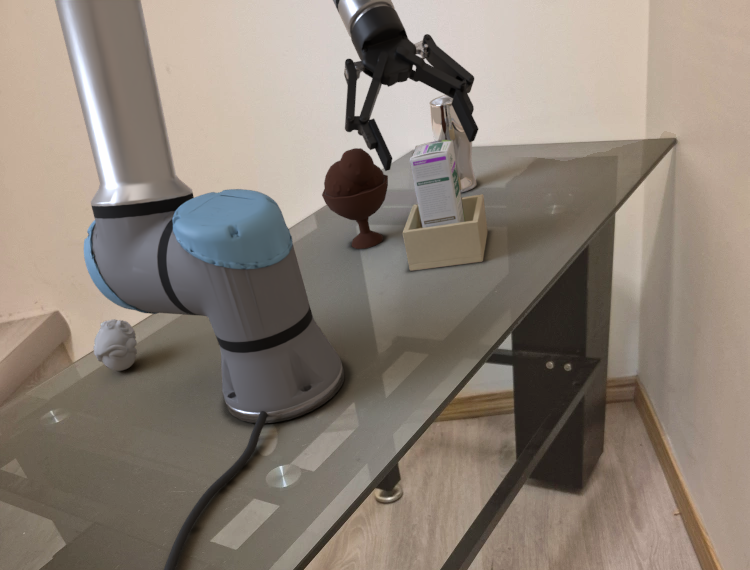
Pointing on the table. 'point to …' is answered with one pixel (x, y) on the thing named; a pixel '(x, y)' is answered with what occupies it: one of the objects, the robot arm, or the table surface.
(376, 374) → the table surface
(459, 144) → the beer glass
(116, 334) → the frog figurine
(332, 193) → the ice cream bowl
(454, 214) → the syrup box
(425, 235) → the basket
